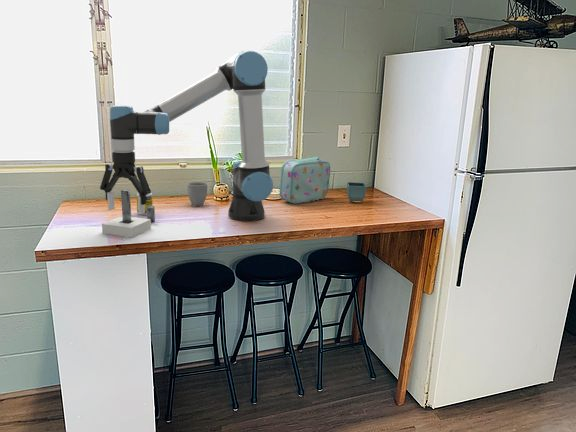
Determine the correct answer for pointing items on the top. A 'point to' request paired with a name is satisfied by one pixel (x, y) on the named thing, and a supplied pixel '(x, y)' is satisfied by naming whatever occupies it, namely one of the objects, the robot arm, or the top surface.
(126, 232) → the socket block
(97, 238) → the top surface
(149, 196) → the pill bottle
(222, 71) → the robot arm
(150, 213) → the short pin
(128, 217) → the long pin
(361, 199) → the flower pot
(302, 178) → the lunch box
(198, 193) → the mug
